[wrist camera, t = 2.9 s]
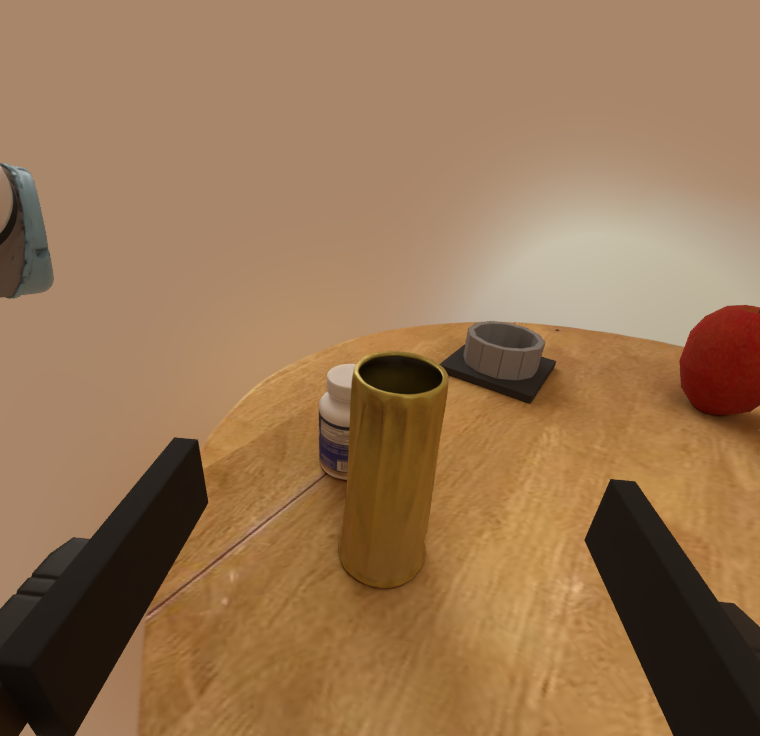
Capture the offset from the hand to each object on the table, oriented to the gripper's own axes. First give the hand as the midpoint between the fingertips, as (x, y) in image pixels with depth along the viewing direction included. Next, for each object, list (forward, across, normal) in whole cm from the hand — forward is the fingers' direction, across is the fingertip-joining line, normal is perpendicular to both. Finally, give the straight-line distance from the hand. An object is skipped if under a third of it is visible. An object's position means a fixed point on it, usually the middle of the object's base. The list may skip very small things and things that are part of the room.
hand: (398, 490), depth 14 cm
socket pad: (+40, +14, -15) cm, 45 cm away
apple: (+35, +39, -15) cm, 54 cm away
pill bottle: (+19, -4, -15) cm, 24 cm away
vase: (+10, 0, -15) cm, 18 cm away
